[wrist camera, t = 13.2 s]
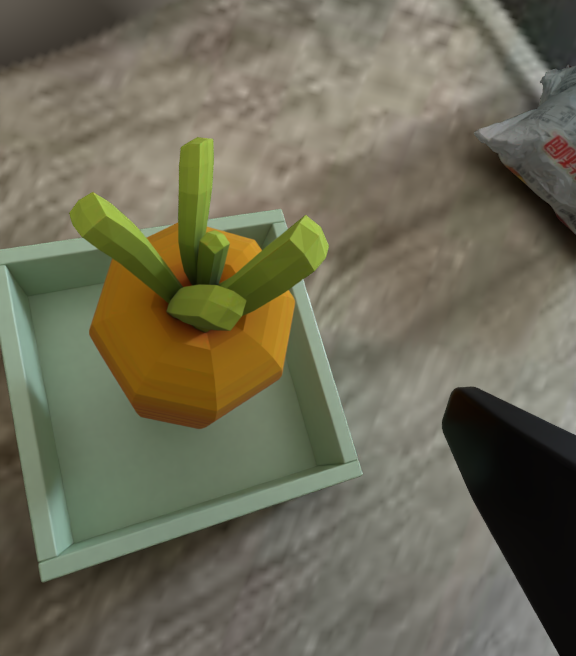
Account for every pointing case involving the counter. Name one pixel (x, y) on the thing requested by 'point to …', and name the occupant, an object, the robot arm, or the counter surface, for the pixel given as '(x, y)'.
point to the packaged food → (543, 144)
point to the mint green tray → (146, 434)
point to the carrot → (194, 302)
